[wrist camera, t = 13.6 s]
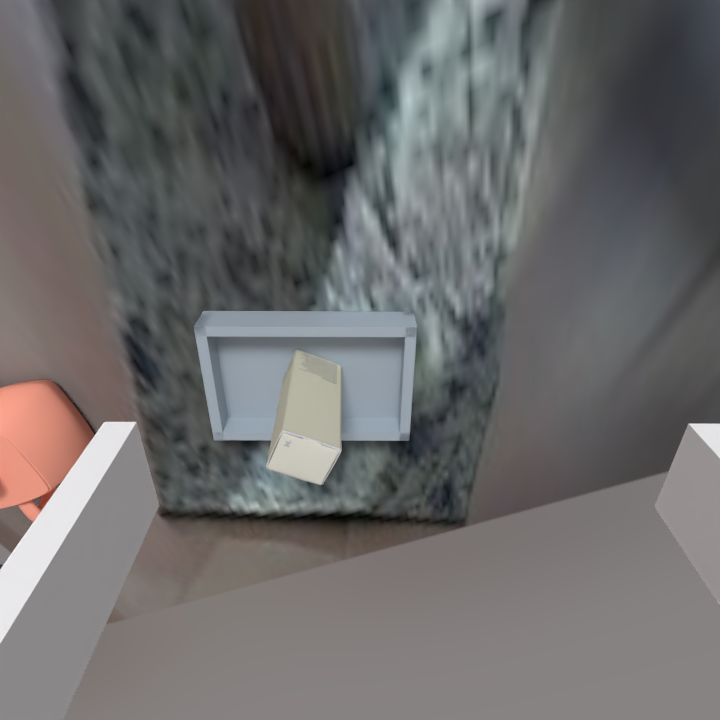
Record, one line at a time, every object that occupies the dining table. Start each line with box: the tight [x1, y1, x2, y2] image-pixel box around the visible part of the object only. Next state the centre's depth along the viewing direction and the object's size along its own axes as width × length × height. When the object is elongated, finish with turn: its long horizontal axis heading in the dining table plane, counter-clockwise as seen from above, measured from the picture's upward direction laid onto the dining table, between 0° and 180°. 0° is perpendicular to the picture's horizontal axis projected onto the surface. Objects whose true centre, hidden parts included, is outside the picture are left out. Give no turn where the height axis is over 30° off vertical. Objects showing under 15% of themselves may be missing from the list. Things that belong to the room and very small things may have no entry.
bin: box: [194, 311, 417, 441], centre depth 50 cm, size 13×20×3 cm, turn 90°
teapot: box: [0, 379, 94, 522], centre depth 50 cm, size 12×18×10 cm, turn 19°
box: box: [266, 350, 342, 485], centre depth 46 cm, size 5×4×13 cm
